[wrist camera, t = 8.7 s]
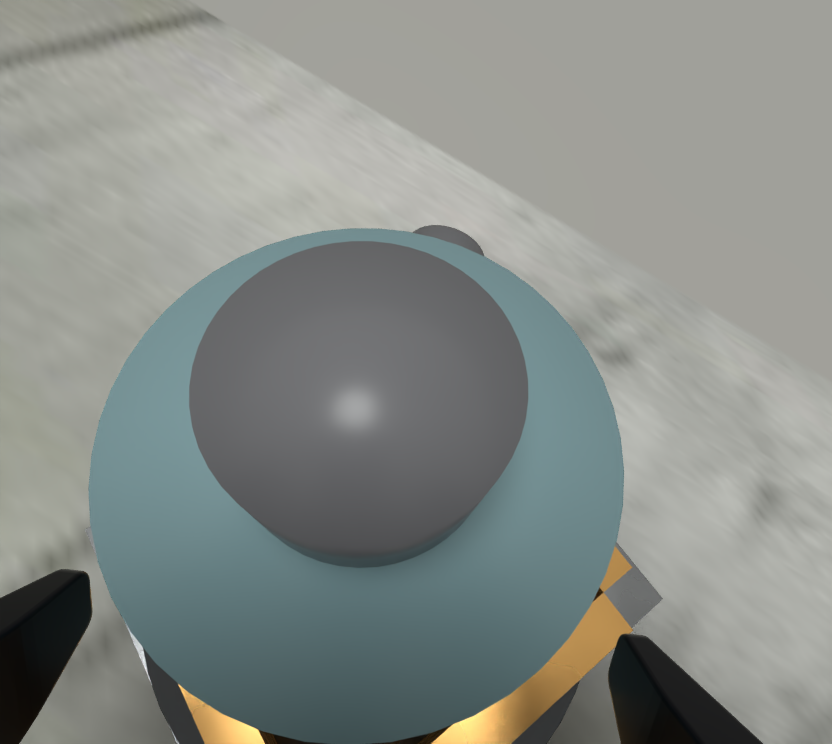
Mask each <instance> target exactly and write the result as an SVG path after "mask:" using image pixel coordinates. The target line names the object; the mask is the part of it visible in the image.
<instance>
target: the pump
mask: <svg viewBox="0 0 832 744" xmlns="http://www.w3.org/2000/svg"><path fill="white" fill-rule="evenodd" d="M623 487H624V466H623V456H622V446H621V438H620V433H619V429H618V425H617V421H616V416H615V412H614V408H613V405H612V402H611V400H610V397H609V394H608V392H607V389H606V386H605V384H604V381H603V379H602V377H601V375H600V373H599V371H598V369H597V367H596V365H595V363H594V361H593V359H592V357H591V356H590V354H589V352H588V350H587V349H586V348H585V346H584V345H583V343H582V342H581V340H580V339H579V337H578V336H577V334H576V333H575V331H574V330H573V329H572V327H571V326H570V325H569V324H568V323H567V322H566V320H565V319H564V318H563V317H562V316H561V315H560V314H559V312H558V311H557V310H556V309H555V308H554V307H553V306H552V305H551V304H550V303H549V302H548V301H547V300H546V299H545V298H543V297H542V296H541V295H540V294H539V293H538V292H537V291H536V290H535V289H534V288H532V287H531V286H530V285H528V284H527V283H526V282H524V281H523V280H522V279H520V278H519V277H517V276H516V275H515V274H513V273H512V272H511V271H509V270H507V269H506V268H504V267H502V266H500V265H499V264H497V263H495V262H493V261H492V260H490V259H488V258H486V257H484V254H483V251H482V249H481V247H480V246H479V245H478V243H477V242H476V241H475V240H474V239H472V238H471V237H470V236H468V235H467V234H465V233H463V232H462V231H459V230H457V229H454V228H451V227H447V226H441V225H431V226H425V227H422V228H419V229H417V230H415V231H414V232H413V233H411V232H406V231H396V230H387V229H341V230H331V231H322V232H317V233H312V234H307V235H302V236H297V237H293V238H289V239H286V240H283V241H280V242H277V243H273V244H270V245H267V246H265V247H262V248H260V249H258V250H255V251H253V252H251V253H248V254H246V255H244V256H241V257H239V258H237V259H236V260H234V261H232V262H230V263H228V264H227V265H225V266H223V267H221V268H219V269H218V270H216V271H214V272H213V273H211V274H210V275H208V276H207V277H206V278H204V279H203V280H201V281H200V282H199V283H197V284H196V285H194V286H193V287H192V288H190V289H189V290H188V291H187V292H186V293H184V294H183V295H182V296H181V297H180V298H179V299H178V300H177V301H175V302H174V303H173V304H172V305H171V306H170V307H169V308H168V309H166V311H165V312H164V313H163V314H162V315H161V316H160V317H159V318H158V319H157V321H156V322H155V323H154V324H153V325H152V326H151V327H150V328H149V330H148V331H147V332H146V333H145V334H144V336H143V337H142V339H141V340H140V341H139V343H138V344H137V346H136V347H135V349H134V350H133V351H132V353H131V354H130V356H129V357H128V359H127V360H126V362H125V364H124V366H123V368H122V370H121V371H120V373H119V375H118V377H117V379H116V381H115V383H114V385H113V387H112V388H111V391H110V394H109V396H108V399H107V402H106V404H105V407H104V410H103V412H102V415H101V418H100V420H99V424H98V429H97V433H96V437H95V442H94V446H93V450H92V456H91V467H90V479H89V507H90V525H91V530H92V535H93V540H94V545H95V549H96V554H97V559H98V563H99V566H100V568H101V571H102V574H103V577H104V579H105V582H106V585H107V587H108V590H109V593H110V595H111V598H112V600H113V601H114V603H115V605H116V607H117V609H118V610H119V612H120V614H121V616H122V617H123V619H124V621H125V623H126V624H127V626H128V628H129V630H130V631H131V633H132V634H133V635H134V637H135V638H136V639H137V640H138V642H139V643H140V644H141V645H142V647H143V648H144V649H145V650H146V652H147V653H148V654H149V655H150V657H151V658H152V659H153V660H154V662H155V663H156V664H157V665H158V666H159V667H160V668H162V669H163V670H164V671H165V672H166V673H167V674H168V675H169V676H170V677H172V678H173V679H174V680H175V681H176V682H177V683H178V684H179V685H180V686H182V687H183V688H184V689H185V690H186V691H187V692H189V693H190V694H192V695H193V696H195V697H197V698H198V699H200V700H201V701H203V702H204V703H206V704H207V705H209V706H211V707H212V708H214V709H215V710H217V711H218V712H220V713H222V714H223V715H226V716H228V717H230V718H233V719H235V720H237V721H240V722H242V723H244V724H247V725H249V726H251V727H254V728H256V729H258V730H261V731H264V732H268V733H272V734H276V735H280V736H284V737H288V738H292V739H296V740H300V741H304V742H315V743H327V744H372V743H385V742H394V741H398V740H402V739H407V738H411V737H415V736H419V735H424V734H428V733H432V732H435V731H438V730H440V729H443V728H445V727H448V726H450V725H453V724H455V723H458V722H460V721H463V720H465V719H468V718H470V717H473V716H475V715H476V714H478V713H480V712H481V711H483V710H485V709H486V708H488V707H490V706H491V705H493V704H495V703H496V702H498V701H500V700H501V699H503V698H505V697H507V696H508V695H510V694H511V693H512V692H514V691H515V690H516V689H517V688H518V687H520V686H521V685H522V684H523V683H525V682H526V681H527V680H528V679H529V678H531V677H532V676H533V675H534V674H536V673H537V672H538V671H539V670H540V669H542V668H543V666H544V665H545V664H546V663H547V662H548V661H549V660H550V659H551V658H552V657H553V655H554V654H555V653H556V652H557V651H558V650H559V649H560V648H561V647H562V646H563V644H564V643H565V642H566V641H567V640H568V639H569V637H570V636H571V634H572V633H573V632H574V630H575V629H576V627H577V626H578V624H579V623H580V621H581V620H582V618H583V617H584V615H585V614H586V612H587V611H588V609H589V608H590V606H591V604H592V602H593V600H594V598H595V596H596V593H597V591H598V589H599V587H600V585H601V583H602V581H603V579H604V577H605V575H606V572H607V569H608V566H609V563H610V560H611V557H612V553H613V550H614V547H615V544H616V541H617V537H618V531H619V525H620V519H621V513H622V507H623Z"/></svg>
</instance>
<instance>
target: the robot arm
mask: <svg viewBox="0 0 832 744" xmlns="http://www.w3.org/2000/svg"><path fill="white" fill-rule="evenodd" d="M91 617H92V600H91V589H90V579H89V576H88V574H87V573H86V572H84V571H78V570H70V569H60V570H57V571H55V572H53V573H51V574H49V575H47V576H45V577H43V578H41V579H39V580H36V581H34V582H32V583H30V584H28V585H26V586H24V587H22V588H20V589H18V590H16V591H14V592H12V593H10V594H8V595H5V596H3V597H1V598H0V744H19V743H20V742H21V740H22V739H23V737H24V736H25V734H26V733H27V731H28V730H29V728H30V727H31V725H32V723H33V722H34V720H35V719H36V717H37V715H38V714H39V712H40V710H41V709H42V707H43V705H44V704H45V702H46V700H47V698H48V697H49V695H50V693H51V691H52V689H53V688H54V686H55V684H56V682H57V681H58V679H59V677H60V675H61V674H62V672H63V670H64V668H65V666H66V665H67V663H68V661H69V659H70V658H71V656H72V654H73V652H74V651H75V649H76V647H77V645H78V643H79V642H80V640H81V638H82V636H83V635H84V633H85V631H86V629H87V627H88V625H89V623H90V620H91ZM608 682H609V689H610V693H611V698H612V703H613V708H614V712H615V717H616V722H617V727H618V731H619V736H620V741H621V744H763V743H762V742H761V741H760V740H759V739H758V738H757V737H755V736H754V735H753V734H752V733H751V732H750V731H749V730H748V729H747V728H746V727H745V726H744V725H742V724H741V723H740V722H739V721H738V720H737V719H736V718H735V717H734V716H733V715H732V714H731V713H729V712H728V711H727V710H726V709H725V708H724V707H723V706H722V705H721V704H720V703H719V702H718V701H716V700H715V699H714V698H713V697H712V696H711V695H710V694H709V693H708V692H707V691H706V690H704V689H703V688H702V687H701V686H700V685H699V684H698V683H697V682H696V681H695V680H694V679H693V678H691V677H690V676H689V675H688V674H687V673H686V672H685V671H684V670H683V669H682V668H681V667H680V666H678V665H677V664H676V663H675V662H674V661H673V660H672V659H671V658H670V657H669V656H668V655H667V654H665V653H664V652H663V651H662V650H661V649H660V648H659V647H658V646H657V645H656V644H655V643H654V642H652V641H651V640H650V639H649V638H648V637H646V636H643V635H635V634H627V633H625V634H622V635H620V637H619V638H618V641H617V644H616V647H615V651H614V654H613V657H612V661H611V664H610V667H609V672H608Z"/></svg>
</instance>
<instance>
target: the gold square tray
mask: <svg viewBox="0 0 832 744" xmlns="http://www.w3.org/2000/svg"><path fill="white" fill-rule="evenodd" d="M85 530H86V533H87V535H88V537H89V540H90V542H91V544H92V547H93V549H94V551H95V554H96V549H95V545H94V540H93V535H92V530H91V526H90V527H88V528H86V529H85ZM96 556H97V554H96ZM662 599H663V598H662V597H661V596H660V595H659V594H658V592H657V591H656V590H655V589H654V587H653V586H652V585H651V584H650V583H649V581H648V580H647V579H646V578H645V576H644V575H643V574H642V573H641V572H640V570H639V569H638V568H637V567H636V565H635V564H634V563H633V562H632V561H631V559H630V558H629V557H628V556H627V554H626V553H625V552H624V551H623V550H622V548H621V547H620V546H619V545H618V543H617V542H616V544H615V547H614V550H613V553H612V557H611V560H610V563H609V566H608V569H607V572H606V575H605V577H604V579H603V581H602V583H601V585H600V587H599V589H598V591H597V593H596V596H595V598H594V600H593V602H592V604H591V606H590V608H589V609H588V611H587V612H586V614H585V615H584V617H583V618H582V620H581V621H580V623H579V624H578V626H577V627H576V629H575V630H574V632H573V633H572V634H571V636H570V637H569V639H568V640H567V641H566V642H565V643H564V644H563V646H562V647H561V648H560V649H559V650H558V651H557V652H556V653H555V654H554V655H553V657H552V658H551V659H550V660H549V661H548V662H547V663H546V664H545V665H544V666H543V668H542V669H540V670H539V671H538V672H537V673H536V674H534V675H533V676H532V677H531V678H529V679H528V680H527V681H526V682H525V683H523V684H522V685H521V686H520V687H518V688H517V689H516V690H515V691H514V692H512V693H511V694H510V695H508V696H507V697H505V698H503V699H501V700H500V701H498V702H496V703H495V704H493V705H491V706H490V707H488V708H486V709H485V710H483V711H481V712H480V713H478V714H476V715H475V716H473V717H470V718H468V719H465V720H463V721H460V722H458V723H455V724H453V725H450V726H448V727H445V728H443V729H440V730H438V731H435V732H432V733H428V734H424V735H419V736H415V737H411V738H407V739H402V740H398V741H394V742H385V743H372V744H546V743H547V742H548V740H549V739H550V738H551V736H552V735H553V733H554V732H555V730H556V729H557V727H558V726H559V724H560V723H561V721H562V719H563V717H564V715H565V713H566V710H567V708H568V706H569V704H570V702H571V700H572V698H573V696H574V694H575V692H576V689H577V687H578V684H579V681H580V679H581V678H582V677H583V676H584V675H585V674H586V673H588V672H589V671H590V670H591V669H592V668H593V667H594V666H595V665H596V664H597V663H598V662H599V661H600V660H602V659H603V658H604V657H605V656H606V655H607V654H608V653H609V652H610V651H611V650H612V649H613V648H614V647H616V644H617V641H618V638H619V637H620V635H622V634H625V633H627V634H630V633H631V632H632V631H633V629H632V627H633V626H634V625H635V624H636V623H637V622H638V621H639V620H640V619H641V618H643V617H644V616H645V615H646V614H647V613H648V612H649V611H650V610H651V609H652V608H653V607H654V606H656V605H657V604H658V603H659V602H660V601H661V600H662ZM125 624H126V623H125ZM126 626H127V624H126ZM127 628H128V626H127ZM128 631H129V633H130V635H131V638H132V640H133V642H134V645H135V647H136V649H137V652H138V654H139V656H140V659H141V661H142V663H143V666H144V668H145V670H146V673H147V675H148V677H149V680H150V682H151V684H152V687H153V690H154V692H155V695H156V698H157V701H158V704H159V707H160V709H161V711H162V713H163V715H164V717H165V718H166V720H167V722H168V724H169V726H170V729H171V731H172V734H173V736H174V738H175V741H176V743H177V744H327V743H315V742H304V741H300V740H296V739H292V738H288V737H284V736H280V735H276V734H272V733H268V732H264V731H261V730H258V729H256V728H254V727H251V726H249V725H247V724H244V723H242V722H240V721H237V720H235V719H233V718H230V717H228V716H226V715H223V714H222V713H220V712H218V711H217V710H215V709H214V708H212V707H211V706H209V705H207V704H206V703H204V702H203V701H201V700H200V699H198V698H197V697H195V696H193V695H192V694H190V693H189V692H187V691H186V690H185V689H184V688H183V687H182V686H180V685H179V684H178V683H177V682H176V681H175V680H174V679H173V678H172V677H170V676H169V675H168V674H167V673H166V672H165V671H164V670H163V669H162V668H160V667H159V666H158V665H157V664H156V663H155V662H154V660H153V659H152V658H151V657H150V655H149V654H148V653H147V652H146V650H145V649H144V648H143V647H142V645H141V644H140V643H139V642H138V640H137V639H136V638H135V637H134V635H133V634H132V633H131V631H130V630H129V628H128Z"/></svg>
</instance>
